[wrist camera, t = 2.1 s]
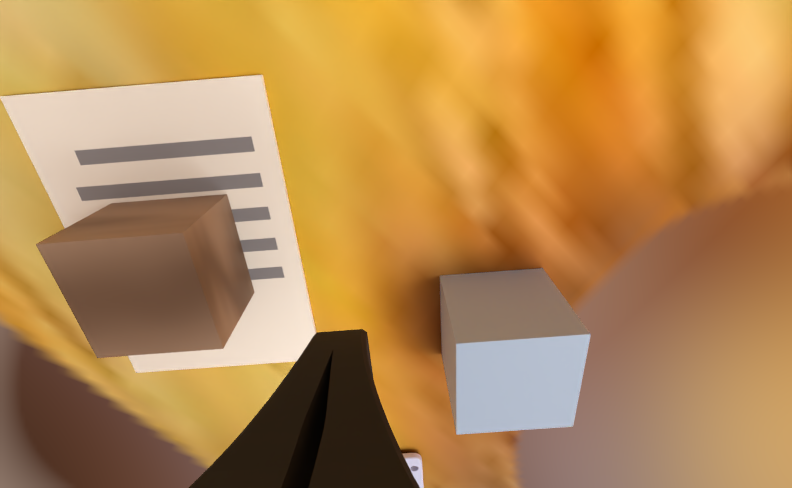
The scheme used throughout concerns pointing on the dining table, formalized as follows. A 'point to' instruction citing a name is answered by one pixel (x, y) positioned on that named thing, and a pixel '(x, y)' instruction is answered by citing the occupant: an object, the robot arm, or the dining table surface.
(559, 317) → the slate cube
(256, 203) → the letter
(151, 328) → the walnut block
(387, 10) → the dining table surface
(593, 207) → the dining table surface
